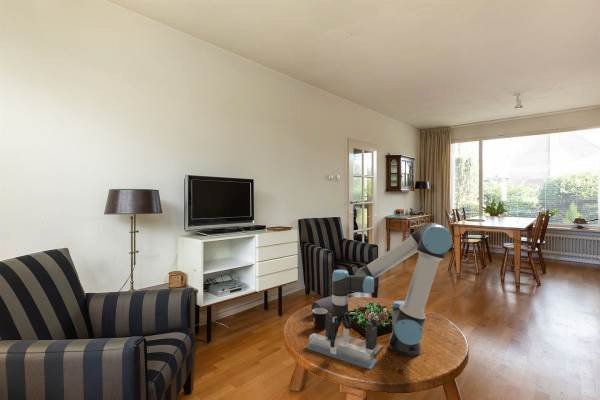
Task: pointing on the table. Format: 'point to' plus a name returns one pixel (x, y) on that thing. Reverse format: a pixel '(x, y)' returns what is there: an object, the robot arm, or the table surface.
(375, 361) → the mat
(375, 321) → the wooden stand
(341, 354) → the rail
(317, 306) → the bluetooth speaker
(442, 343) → the table surface
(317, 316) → the coffee mug
